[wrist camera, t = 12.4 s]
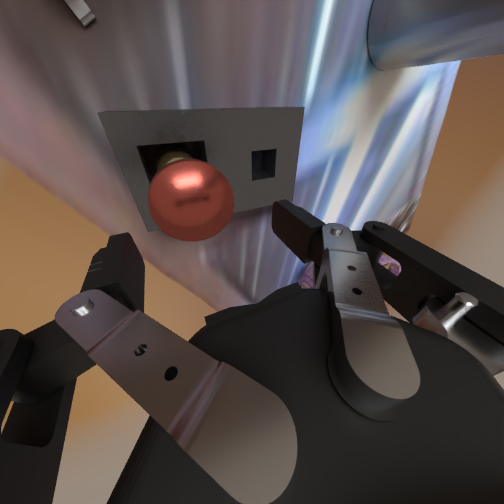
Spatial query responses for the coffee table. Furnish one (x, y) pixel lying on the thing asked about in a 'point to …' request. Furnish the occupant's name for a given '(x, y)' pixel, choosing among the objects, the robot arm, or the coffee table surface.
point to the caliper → (81, 11)
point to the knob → (189, 196)
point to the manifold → (213, 148)
